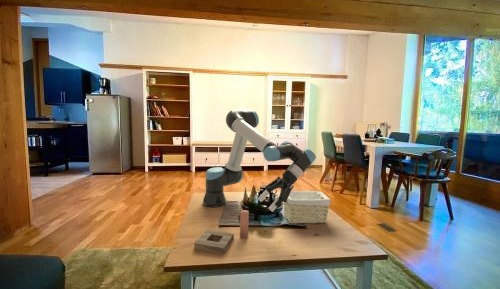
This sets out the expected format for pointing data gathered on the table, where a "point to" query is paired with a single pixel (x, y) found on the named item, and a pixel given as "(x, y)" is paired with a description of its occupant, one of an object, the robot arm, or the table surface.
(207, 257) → the table surface
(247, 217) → the pin
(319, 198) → the storage basket
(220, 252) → the socket block
